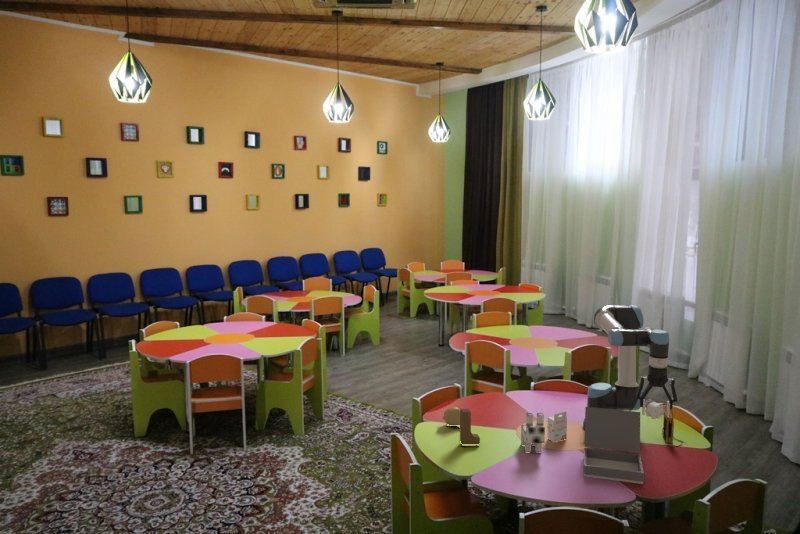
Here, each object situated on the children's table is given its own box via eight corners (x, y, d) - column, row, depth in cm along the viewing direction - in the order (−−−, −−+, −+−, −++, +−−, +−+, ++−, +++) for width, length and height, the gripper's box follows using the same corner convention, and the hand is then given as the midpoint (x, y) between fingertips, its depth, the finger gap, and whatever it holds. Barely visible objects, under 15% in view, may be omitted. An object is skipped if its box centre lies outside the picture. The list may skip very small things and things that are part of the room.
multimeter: (690, 447, 281) (692, 408, 278) (667, 446, 283) (670, 406, 280) (681, 435, 295) (684, 397, 293) (660, 433, 297) (662, 396, 295)
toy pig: (453, 436, 306) (468, 424, 303) (438, 419, 306) (453, 407, 303) (455, 428, 315) (470, 416, 312) (440, 411, 315) (455, 399, 312)
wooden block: (477, 442, 289) (477, 407, 287) (479, 446, 285) (480, 411, 283) (459, 443, 288) (459, 408, 286) (461, 447, 284) (461, 412, 282)
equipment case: (583, 476, 255) (584, 465, 254) (583, 458, 272) (584, 447, 271) (643, 484, 248) (643, 472, 247) (639, 464, 265) (639, 454, 264)
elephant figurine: (670, 418, 255) (671, 402, 254) (652, 421, 252) (653, 405, 251) (657, 411, 262) (658, 396, 261) (639, 414, 259) (640, 399, 258)
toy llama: (535, 441, 290) (535, 403, 287) (544, 458, 272) (545, 417, 270) (519, 442, 290) (520, 403, 287) (528, 458, 272) (528, 417, 270)
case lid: (585, 406, 275) (585, 406, 277) (584, 446, 272) (584, 446, 274) (640, 412, 268) (639, 412, 270) (639, 452, 264) (639, 452, 266)
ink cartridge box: (559, 436, 296) (560, 408, 294) (566, 439, 292) (567, 411, 290) (546, 439, 292) (547, 411, 290) (553, 443, 288) (554, 414, 286)
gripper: (632, 366, 253) (629, 416, 256) (687, 370, 247) (684, 420, 251) (630, 361, 260) (627, 409, 264) (683, 365, 254) (681, 414, 258)
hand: (655, 415), depth 257 cm, fingers closed on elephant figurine, 9 cm apart
